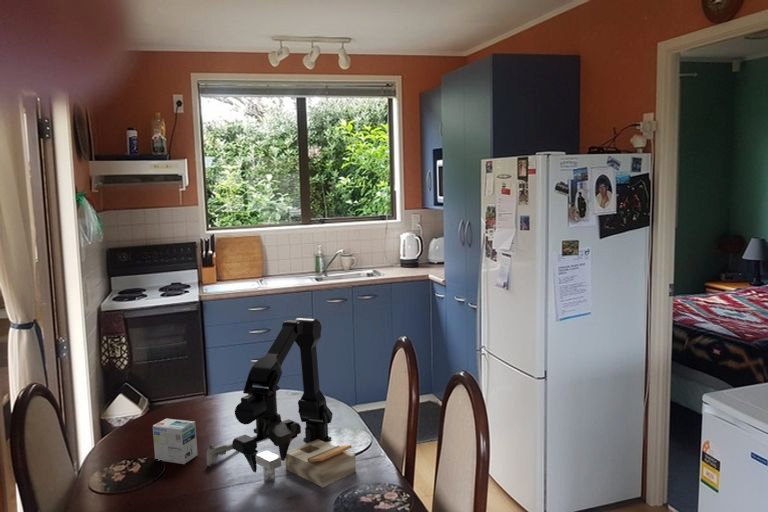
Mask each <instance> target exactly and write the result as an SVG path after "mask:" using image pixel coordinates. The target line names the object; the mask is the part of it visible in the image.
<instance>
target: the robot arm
mask: <svg viewBox="0 0 768 512" xmlns="http://www.w3.org/2000/svg"><path fill="white" fill-rule="evenodd" d="M321 333H322V324H321V321H320V320H318V319H317V318H307V317H306V318H305V317H297V318H296V319H295V320H291V319H290V320H289V319H287V320H284V321H283V322H282V324H281V329H280V331H279V332H278V334H277V336H276V338H274V341H273V342H272V344H271V346H270V348H269V349H268V351H267V352H266V354H265V355H264V356H262V357H260V358H259V359H257V360H256V361H255V363H254V364H253V365H252V366H251V368H250V370H249V373H248V375H247V377H246V382H245V385H244V387H243V392H242V393H243V394H246V395H245V396H244V395H243V396H242V397H240V402H239V403H238V404H236V406H235V409H234V415H235V418H236V420H237V421H238V422H239V423H240V424H242V425H249V424H251V423H253V422H255V425H256V426H255V427H254V428H253V434H254V433H255V434H256V435H254V436H249V435H247V434H243V435H240V436H238V437H235V438H233V439H232V443H231V444H232V447H233V449H232V450H235V451H236V452H238V453H240V454H243V456H244V457H245V459H246V461H247V463H248V465H249V466H250V469H251V470H252V472H254V473H257V470H258V469H257V468H258V467H257V465H258V464H257V463H256V455H257V454H258V452H259V450H258V449H257V448H258V444H259V443H261V442H265V441H267V440H270V441H271V442H272V443H273V445H274V446H276V447H278V451H279V456H280V457H281V462H282V461H283V462H284V461H286V459H285V457H286V454H287V451H289V447H290V445H291V442H292V441H293V440H294V439H296V438H297V437H298V435H299V434H302V427H301V425H300V423H298V422H296V421H294V420H292V419H285V420H283V421H282V417H281V414H280V413H278V404H277V403H278V402H277V391H279V390H280V386H279V385H278V384H279V382H280V380H281V377H282V375H283V369H282V364H283V363H284V360H285V359H286V357H287V355H288V354H289V352H290V350H291V348H292V347H293V345H294V343H296V345H297V346H298V348H299V351H300V352H299V353H300V365H301V366H300V367H301V377H302V387H303V388H302V389H303V393H302V395H301V397H300V399H298V401H297V404H298V405H297V406H298V411H297V412H298V414H299V418H300V421H301V423H305V429H304V431H305V432H304V433H305V434H304V435H305V437H304V438H303V441H305V442H306V443H310V442H312V441H315V440H317V439H319V440H321V441H324V442H326V443H327V442H329V441H330V440H332V437H331V436H329V424H331V423H332V420H333V412H332V410H331V409H330V408H329V407H328V405H327V399H326V396H325V395H324V394H323V393H322V391H321V389H320V377H319V366H318V353H317V345H318V342H319V341H320V339H321Z"/></svg>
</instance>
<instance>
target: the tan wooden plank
mask: <svg viewBox="0 0 768 512" xmlns="http://www.w3.org/2000/svg"><path fill="white" fill-rule="evenodd" d="M352 448H353V446H352V444H350V445H337V446H336V447H334V448H331V449H329V450H327V451H324V452H322V453H319V454H317V455H315V456H312V457H310V458H308V459H307V460H308V462H314V461H322V460H325V459H327V458H329V457H331V456H334V455H336V454H338V453H341V452H343V451H348V450H349V449H352Z"/></svg>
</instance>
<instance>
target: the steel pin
mask: <svg viewBox="0 0 768 512" xmlns="http://www.w3.org/2000/svg"><path fill="white" fill-rule="evenodd" d="M256 464H257V465H259V466H260V467H262V469H263V483H265V484H272V483H274V482H275V481H276V473H275V472H276V469H277V468H279V467H282V460H281V457H280V455H278V454H276V453H273V452H271V451H269V450H264V451H262V452H260V453H257V454H256Z"/></svg>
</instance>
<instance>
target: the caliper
mask: <svg viewBox="0 0 768 512" xmlns="http://www.w3.org/2000/svg"><path fill="white" fill-rule="evenodd" d="M206 450H207V451H206V466H207V467H212V466H213V465H216V462H217V461H218V456H223V455H226V454H227V452H228V451H231V450H234V449H233V447H232V443H230V444H221V445H217V446H216V444H214V443H212V444H209V447H208V448H207V449H206Z"/></svg>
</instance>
